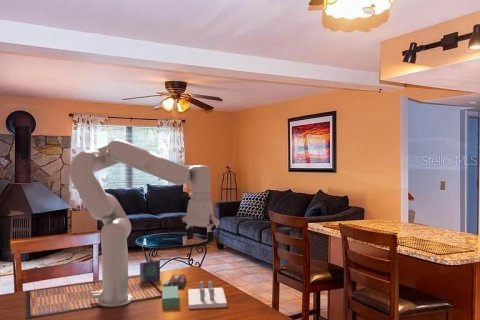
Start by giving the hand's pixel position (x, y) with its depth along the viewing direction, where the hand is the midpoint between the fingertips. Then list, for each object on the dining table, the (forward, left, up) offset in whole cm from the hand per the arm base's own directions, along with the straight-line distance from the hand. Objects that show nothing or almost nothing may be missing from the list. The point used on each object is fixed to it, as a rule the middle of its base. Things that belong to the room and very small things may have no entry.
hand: (200, 240), depth 162 cm
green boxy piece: (-12, -2, -23) cm, 26 cm away
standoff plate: (+2, -2, -23) cm, 23 cm away
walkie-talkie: (-11, +17, -24) cm, 31 cm away
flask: (-22, +26, -23) cm, 41 cm away
